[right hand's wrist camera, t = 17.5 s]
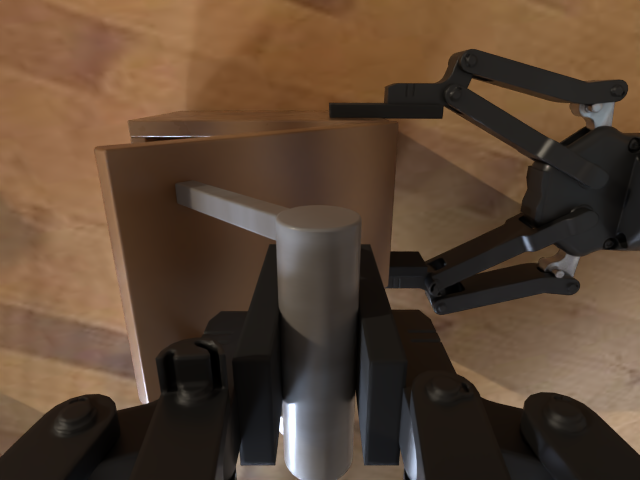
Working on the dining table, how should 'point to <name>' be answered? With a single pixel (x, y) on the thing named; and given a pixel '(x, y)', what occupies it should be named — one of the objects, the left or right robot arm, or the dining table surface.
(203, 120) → the brown wooden cabinet
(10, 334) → the dining table surface
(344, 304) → the lid
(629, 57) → the dining table surface
